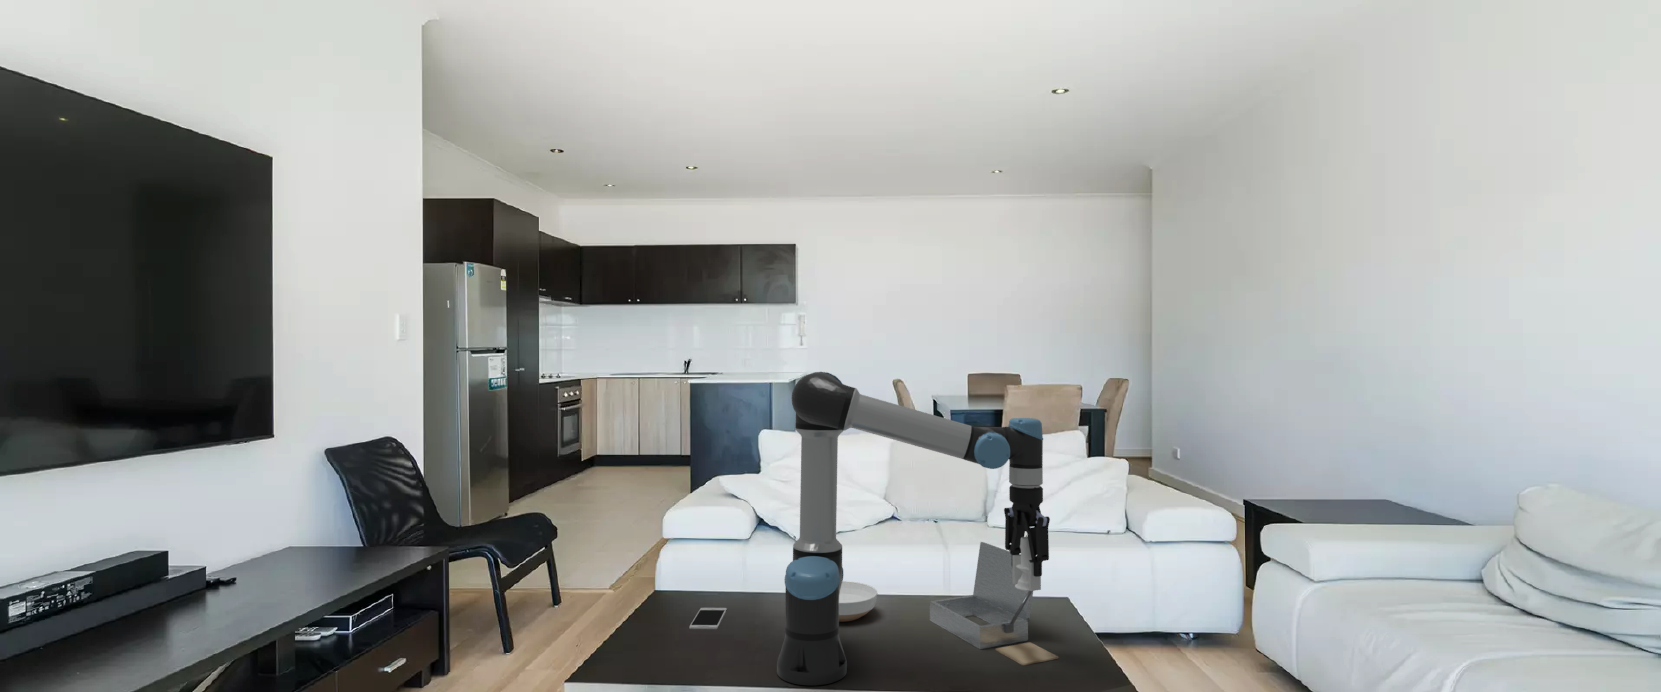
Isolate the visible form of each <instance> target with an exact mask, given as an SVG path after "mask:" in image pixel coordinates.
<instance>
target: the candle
mask: <svg viewBox="0 0 1661 692" xmlns="http://www.w3.org/2000/svg"><path fill="white" fill-rule="evenodd" d="M1020 548H1021V553H1020V554H1021V564H1019V565H1017V566H1016V567H1017V568H1018V569H1020V570H1021V571H1023V573H1022V575H1021V578H1020V579H1019V580H1018V583H1017V584H1016V585H1015V587H1016V588H1017V589H1020V590H1026V591H1030V590H1029V560H1032V559H1031V553H1030V547H1029V541H1028V536H1027V534H1026V535H1025V536H1024V537H1021V542H1020Z"/></svg>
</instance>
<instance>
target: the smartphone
mask: <svg viewBox="0 0 1661 692" xmlns="http://www.w3.org/2000/svg"><path fill="white" fill-rule="evenodd" d="M727 609H728V608H727V607H700V609H699V610H698V611H697V613H696V615H695V617H694V618H693V620H692V622H691V623H690V625H689V628H688V629H689V630H717V629H718V628H719V627H720V624H721V623H722V621H723V618H724V616H725V615H726V613H727V611H726V610H727Z"/></svg>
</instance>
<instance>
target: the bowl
mask: <svg viewBox="0 0 1661 692" xmlns="http://www.w3.org/2000/svg"><path fill="white" fill-rule="evenodd" d="M877 599H878V590H877V589H876V588H875V587H873V586H871V585H869V584H865V583H861V582H855V581H847V580H846V581H844V580H843V581H842V584H841V589H840V594H839V623H840V622H852V621H856V620H859V619H860V618H861V617H863V616H866V615H867V614H868V613H869V612H871V610H873V609H874V607H875V606H876V603H877Z"/></svg>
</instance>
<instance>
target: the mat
mask: <svg viewBox="0 0 1661 692" xmlns="http://www.w3.org/2000/svg"><path fill="white" fill-rule="evenodd" d="M995 651H996V652H997V653H1000V654H1001V655H1003V656H1005V657H1007V658H1008V659H1011V660H1012V661H1014V662H1016V663H1018V664H1019V665H1021V666H1028V665H1032V664H1037V663H1042V662H1047V661H1053V660H1058V659H1059V656H1058V655H1056V654H1054V653H1052V652H1050V651H1048V650H1046V649H1045V648H1042V647H1040V646H1038V645H1036V644H1034V643H1033V642H1030V641H1029V642H1024V643H1023V642H1022V643H1018V644H1017V643H1016V644H1014V645H1013V644H1012V645H1009V646H1008V645H1007V646H1002V647H997V648H995Z"/></svg>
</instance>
